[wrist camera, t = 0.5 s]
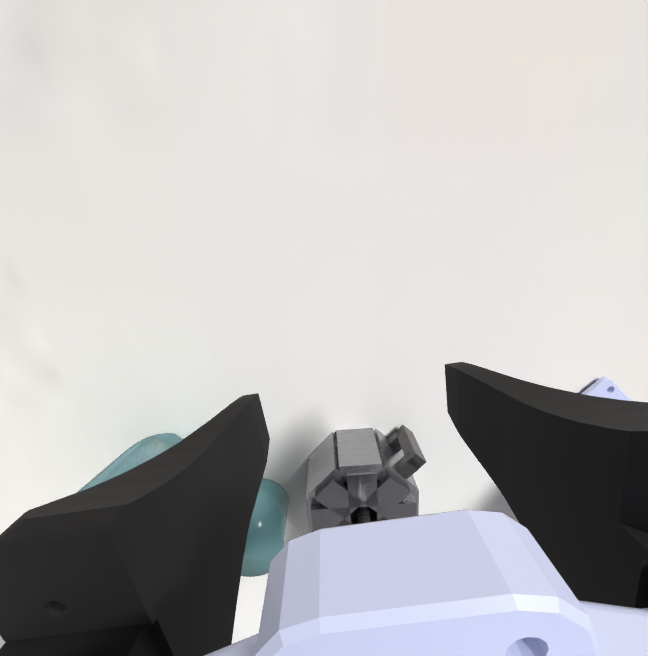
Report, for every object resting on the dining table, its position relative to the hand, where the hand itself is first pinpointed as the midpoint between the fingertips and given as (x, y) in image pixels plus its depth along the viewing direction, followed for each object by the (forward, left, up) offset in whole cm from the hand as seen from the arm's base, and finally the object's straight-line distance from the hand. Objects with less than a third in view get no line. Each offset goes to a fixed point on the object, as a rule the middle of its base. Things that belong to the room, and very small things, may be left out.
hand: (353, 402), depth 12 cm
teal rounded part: (-5, +16, -10) cm, 19 cm away
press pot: (-9, +8, -10) cm, 16 cm away
